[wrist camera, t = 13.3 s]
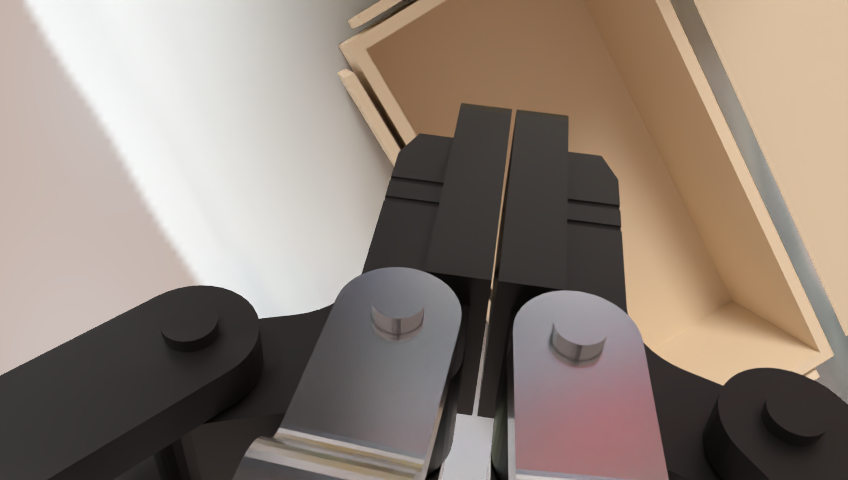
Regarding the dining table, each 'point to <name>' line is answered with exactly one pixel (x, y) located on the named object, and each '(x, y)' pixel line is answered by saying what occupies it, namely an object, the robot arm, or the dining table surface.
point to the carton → (610, 156)
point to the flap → (796, 113)
